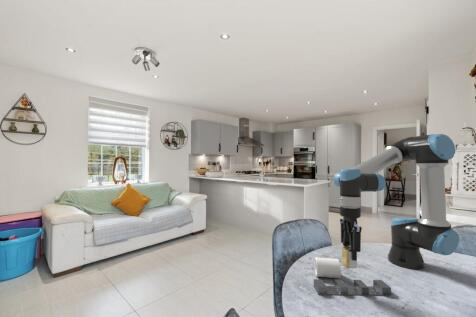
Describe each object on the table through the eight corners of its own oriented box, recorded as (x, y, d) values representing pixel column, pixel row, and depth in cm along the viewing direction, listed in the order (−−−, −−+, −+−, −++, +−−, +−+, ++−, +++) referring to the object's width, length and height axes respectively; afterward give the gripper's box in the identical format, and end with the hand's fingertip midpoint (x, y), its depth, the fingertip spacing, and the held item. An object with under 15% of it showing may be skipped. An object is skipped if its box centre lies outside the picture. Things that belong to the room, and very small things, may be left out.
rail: (381, 287, 94) (381, 279, 94) (391, 295, 88) (391, 287, 88) (313, 286, 94) (313, 279, 94) (318, 294, 88) (318, 287, 88)
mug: (341, 282, 98) (341, 263, 98) (317, 279, 100) (316, 261, 100) (335, 269, 110) (335, 252, 110) (313, 267, 112) (313, 251, 112)
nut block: (351, 264, 93) (351, 246, 93) (356, 268, 89) (356, 250, 89) (341, 263, 93) (342, 246, 93) (346, 268, 89) (346, 250, 89)
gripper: (332, 203, 100) (332, 256, 100) (350, 210, 83) (350, 275, 83) (349, 203, 100) (349, 256, 100) (371, 211, 83) (371, 275, 83)
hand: (350, 264), depth 91 cm, fingers closed on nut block, 4 cm apart
